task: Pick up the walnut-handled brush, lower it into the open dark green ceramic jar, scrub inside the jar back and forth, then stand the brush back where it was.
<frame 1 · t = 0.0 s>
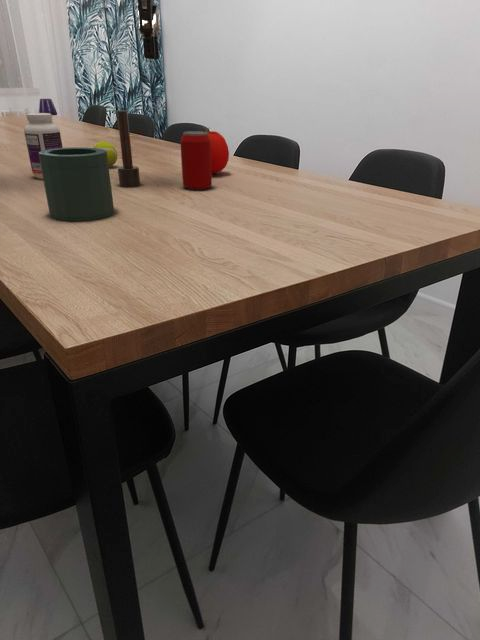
hand: (152, 59, 109), 26 cm above the table, tool pointing down, fingers open, 8 cm apart
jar: (82, 213, 95), on the table
tennis ball: (106, 168, 140), on the table
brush: (129, 185, 119), on the table
toy lamp: (56, 164, 144), on the table
tomato: (206, 174, 133), on the table
beverage can: (197, 188, 118), on the table
pill bottle: (50, 177, 126), on the table
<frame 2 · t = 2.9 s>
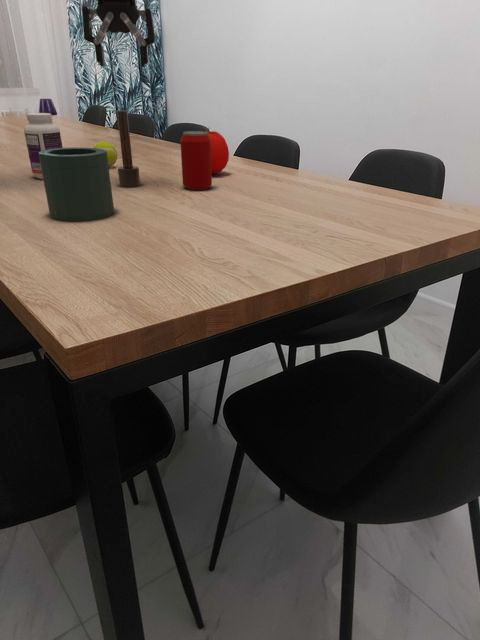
hand: (123, 66, 107), 25 cm above the table, tool pointing down, fingers open, 8 cm apart
nothing on the table moved.
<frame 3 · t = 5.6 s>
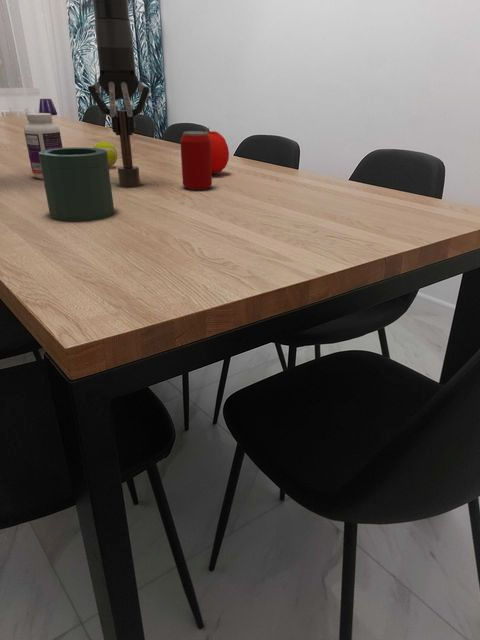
hand: (124, 134, 113), 11 cm above the table, tool pointing down, fingers closed on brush
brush: (129, 185, 119), on the table, touching gripper
everything else where it was.
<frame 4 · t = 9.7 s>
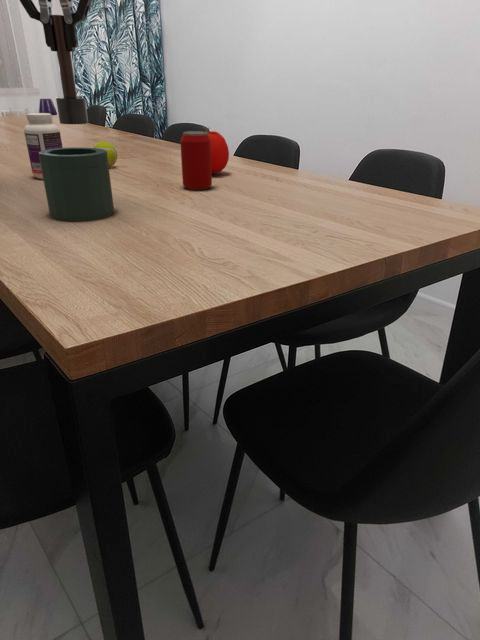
hand: (63, 50, 84), 27 cm above the table, tool pointing down, fingers closed on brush
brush: (74, 123, 89), point 15 cm above the table, touching gripper
everything else where it was.
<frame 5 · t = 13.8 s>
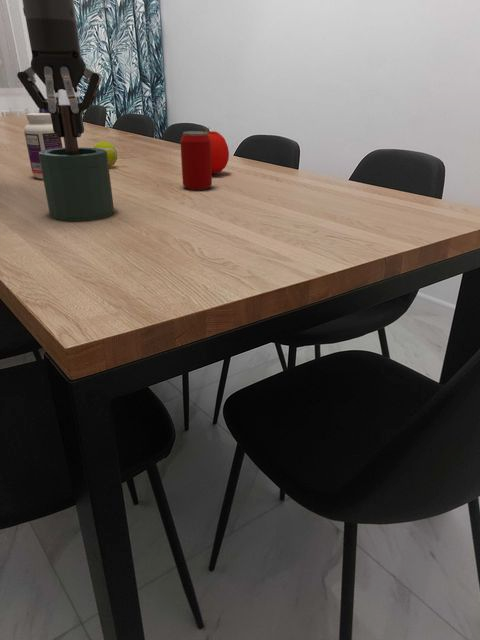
hand: (69, 136, 87), 14 cm above the table, tool pointing down, fingers closed on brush
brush: (80, 201, 93), point 3 cm above the table, touching gripper
everything else where it was.
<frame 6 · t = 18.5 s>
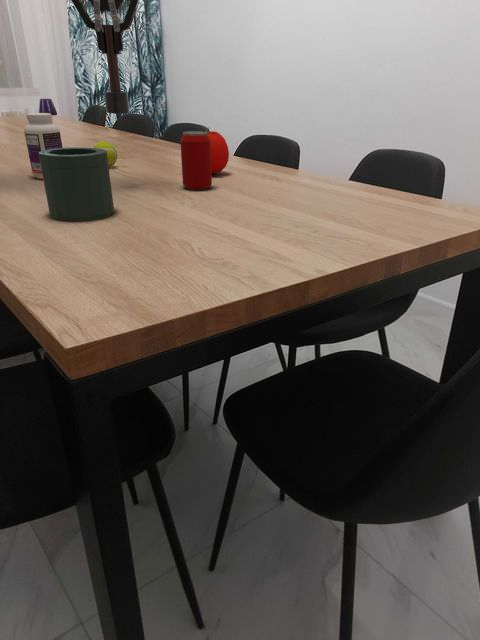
hand: (111, 53, 103), 27 cm above the table, tool pointing down, fingers closed on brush
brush: (118, 112, 109), point 16 cm above the table, touching gripper
everything else where it was.
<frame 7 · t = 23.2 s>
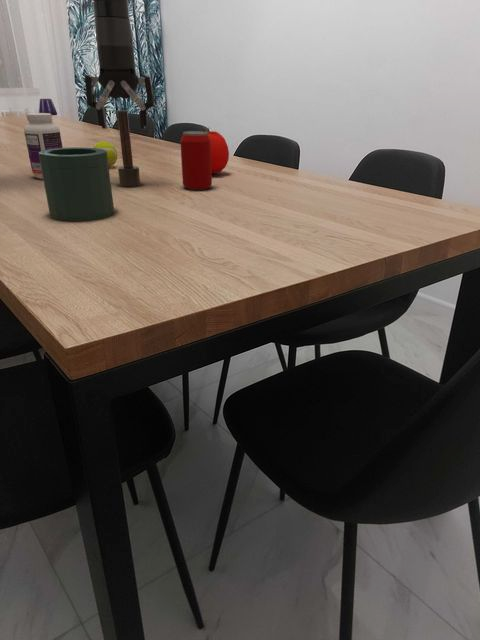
hand: (123, 128, 113), 12 cm above the table, tool pointing down, fingers open, 8 cm apart
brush: (130, 185, 119), on the table
everything else where it was.
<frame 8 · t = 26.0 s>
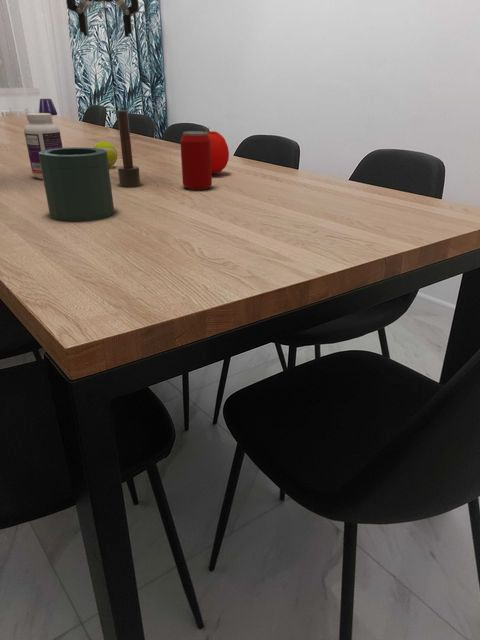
hand: (106, 36, 107), 30 cm above the table, tool pointing down, fingers open, 8 cm apart
nothing on the table moved.
at the end: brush inside the target area on the table beside the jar (0.1 cm from its centre), on the table; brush tilted 0°; the gripper is holding nothing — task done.
